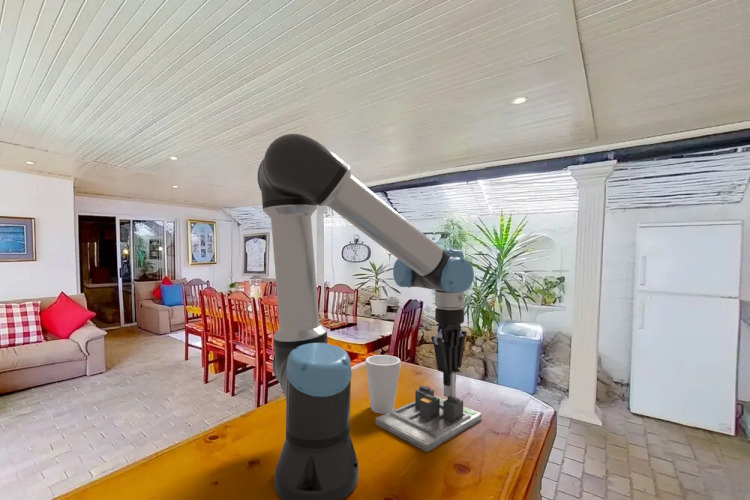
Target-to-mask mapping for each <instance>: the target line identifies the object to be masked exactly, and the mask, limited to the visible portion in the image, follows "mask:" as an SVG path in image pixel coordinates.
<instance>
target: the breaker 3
mask: <svg viewBox="0 0 750 500" xmlns="http://www.w3.org/2000/svg"><path fill="white" fill-rule="evenodd" d="M463 407H464V400H462V399H459V398H458V397H457V396H456V397H453V396H448V397H447V399H445V401H444V402H443V418H445V419H447V420H450V421H452V422H453V421H455V420H457V419H459V418H461V417H463Z"/></svg>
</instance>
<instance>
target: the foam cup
mask: <svg viewBox="0 0 750 500" xmlns="http://www.w3.org/2000/svg"><path fill="white" fill-rule="evenodd" d="M401 364H402V362H401V358H399V357H397V356H393V355H388V354H378V355H372V356H368V357H366V358H365V371H366V377H367V385H368V387H367V388H368V395H369V403H370V404H369V405H370V410H371V411H372V412H374V413H377V414H382V415H384V414H387V413H389V412H390V411H393V410H395V405H396V399H397V392H398V391H397V390H398V385H399V379H400V378H399V377H400V372H401V368H402V367H401V366H402V365H401Z"/></svg>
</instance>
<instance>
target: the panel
mask: <svg viewBox="0 0 750 500" xmlns="http://www.w3.org/2000/svg"><path fill="white" fill-rule="evenodd" d="M434 397H436V398H439V399H440V414H439V415H437V416H435V417H433V418H431V419H429V420H428V419H426V418H424V417H422V416H420V408H419V407H417V406H415V401H412V402H410V403H408V404H405V405H403V406H401V407H398V408H396V409H394V410H393V411H390V412H389V413H385V414H382V415H379V416H377V417H375V425H376V426H378V427H380V428H382V429H384V430H385V431H387V432H389V433H391V434H392V435H395V436H396V437H399V438H400V439H401V440H403V441H406V442H407V443H409V444H411V445H413V446H414V447H417V448H419V449H421V450H423V451H424V452H427V453H429V452H430V451H432V450H434V449H435V448H437V447H439V446H440V445H442V444H444V443H445V442H447V441H449V440H450V439H452V438H454V437H455V436H458V434H461V433H462V432H463V431H465V430H467V429H469V428H470V427H472V426H473V425H475V424H478V422H481V421H483V414H482V412H479V411H476V410H475V409H471V408H469V407H465V406H463V417H461V418H459V419H457V420H455V421H453V422H452V421H450V420H447V419H445V418H443V402H444V401H445V400H446V398H445V399H444V398H442V397H439V396H437V395H434Z"/></svg>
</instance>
